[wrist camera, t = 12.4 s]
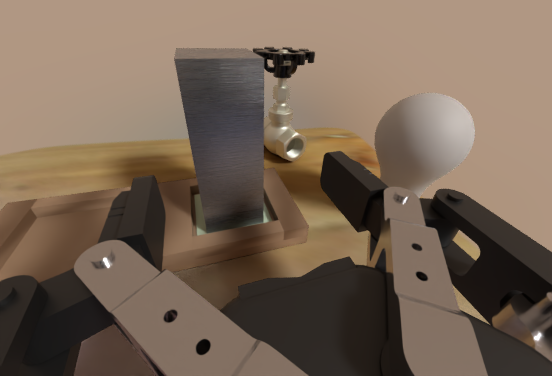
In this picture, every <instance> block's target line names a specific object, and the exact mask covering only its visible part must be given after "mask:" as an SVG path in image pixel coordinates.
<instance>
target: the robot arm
mask: <svg viewBox="0 0 552 376" xmlns="http://www.w3.org/2000/svg"><path fill="white" fill-rule="evenodd" d="M320 183H321V187H322V189H323V191H324V192H325V193H326V194H327V196H328V197H329V198H330V199H331V201H332V202H333V203H334V204H335V205H336V207H337V208H338V209H339V210H340V211H341V213H342V214H343V215H344V216H345V218H346V219H347V220H348V221H349V222H350V224H351V225H352V226H353V227H354V229H355V230H356V231H357V232H362V231H366V230H368V231H369V232H370V233H369V236H368V248H367V266H364V265H355V264H354V262H353V261H352V260H351V258H350V257H346V258H342V259H338V260H334V261H331V262H327V263H324V264H322V265H321V266H319V267H317V268H315V269H314V270H312V271H310V272H309V273H307V274H305V275H303V276H301V277H292V278H267V279H263V280H260V281H256V282H252V283H249V284H245V285H241V286H238V290H239V296H238V297H237V298H235V299H233V300H232V301H231V302H229V303H228V304H226V305H225V306H224V307H223V308H222V309H221V310H220V311H219V310H218V309H216V308H215V307H214V306H213V305H211V304H210V303H209V302H208V301H207V300H205V299H204V298H203V297H202V296H200V295H199V294H198V293H197V292H195V291H194V290H193V289H192V288H190V287H189V286H188V285H187V284H185V283H184V282H183V281H182V280H181V279H179V278H178V277H177V276H176V275H174V274H173V273H172V272H170V271H169V270H167V269H164V270H163V271H162V262H163V248H164V234H165V220H166V213H165V207H164V203H163V200H162V197H161V193H160V190H159V187H158V184H157V181H156V178H155V176H154V175H151V176H144V177H136V178H134V179H133V182H132V186H131V189H130V190H129V191H122V192H121V193H120V194H119V195H118V196H117V197H116V198H115V199H114V200H113V202H112V205H111V208H110V211H109V213H108V216H107V217H108V218H107V219H106V221H105V224H104V227H103V229H102V232H101V235H100V238H99V240H98V243H97V244H96V245H94V246H92V247H91V248H89V249H87V250H86V251H85V252H84V253H82V254H81V255H80V257H79V258H78V259H77V261H76V262H75V265H74V268H72V269H71V270H68V271H66V272H64V273H61V274H59V275H57V276H54V277H52V278H49V279H47V280H45V281H42V282H40V283H39V282H38V281H37V280H36V279H35V278H34V277H32V276H29V275H18V276H13V277H10V278H7V279H4V280H1V281H0V376H73V375H74V370H75V366H76V362H77V358H78V354H79V350H80V346H81V342H82V341H83V340H85V339H87V338H89V337H91V336H92V335H94V334H96V333H98V332H100V331H101V330H103V329H105V328H107V327H109V326H111V325H112V324H113V325H114V326H115V327H116V328H117V329H118V331H119V332H120V333H121V334H122V335H123V336H124V338H125V339H126V340H127V341H128V342H129V344H130V345H131V346H132V347H133V348H134V349H135V351H136V352H137V353H138V354H139V355H140V356H141V358H142V359H143V360H144V361H145V363H146V364H147V365H148V366H149V368H150V369H151V370H152V371H153V373H154V374H155V375H156V376H552V252H551V251H549V250H547V249H546V248H545V247H543V246H542V245H540V244H539V243H537V242H536V241H534V240H533V239H531V238H530V237H528V236H527V235H525V234H524V233H522V232H520V231H519V230H518V229H516V228H515V227H513V226H512V225H510V224H509V223H507V222H506V221H504V220H503V219H501V218H500V217H498V216H497V215H495V214H494V213H492V212H491V211H489V210H488V209H486V208H485V207H483V206H482V205H480V204H479V203H477V202H476V201H474V200H473V199H471V198H470V197H468V196H467V195H465V194H463V193H461V192H458V191H455V190H451V189H439V190H438V191H436V194H435V195H434V197H433V199H423V198H419V197H418V196H417V195H416V194H415V193H413V192H412V191H410V190H407V189H405V188H401V187H388V186H387V185H386V184H385V183H384V182H382V181H381V180H380V179H379V178H377V177H376V176H375V175H374V174H372V173H371V172H370V171H369V170H366V168H365V167H364V166H363V165H362V164H360V163H358V162H356V161H354V160H352V159H350V158H349V157H348V156H346V155H345V154H344V153H343V152H341V151H336V152H328V153H326V154H325V155H324V159H323V165H322V172H321V178H320ZM459 230H461V231H462V232H463V233H464V234H465V235H467V236H468V237H469V238H470V239H472V240H473V241H474V242H475V243H476V244H477V245H478V246H479V248H480V256H479V258H478V259H477V260H476V261H475V260H474V259H473V258H472V257H471V256H469V255H468V254H467V253H466V252H465V251H464V250H463V249H461V248H460V247H459V246H458V245H457V244H456V243H455V242H454V241H452V240H453V238H454V237H455V235H456V234H457V232H458V231H459ZM452 284H453V286H454V287H455V288H456V289H457V290H458V291H459V292H460V293H461V294H462V295H463V296H464V297H465V298H466V299H467V300H468V301H469V302H470V303H471V305H472V306H473V307H474V308H475V309H476V310H477V311H478V312H479V313H480V314H481V315H482V316H483V317H484V318H485V319H486V320H487V321H488V323H489V324H490V325H489V324H487V323H485V322H483V321H481V320H479V319H477V318H475V317H473V316H471V315H469V314H467V313H465V312H463V311H461V310H460V309H459V307H458V304H457V300H456V296H455V293H454V289H453V286H452Z"/></svg>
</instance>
